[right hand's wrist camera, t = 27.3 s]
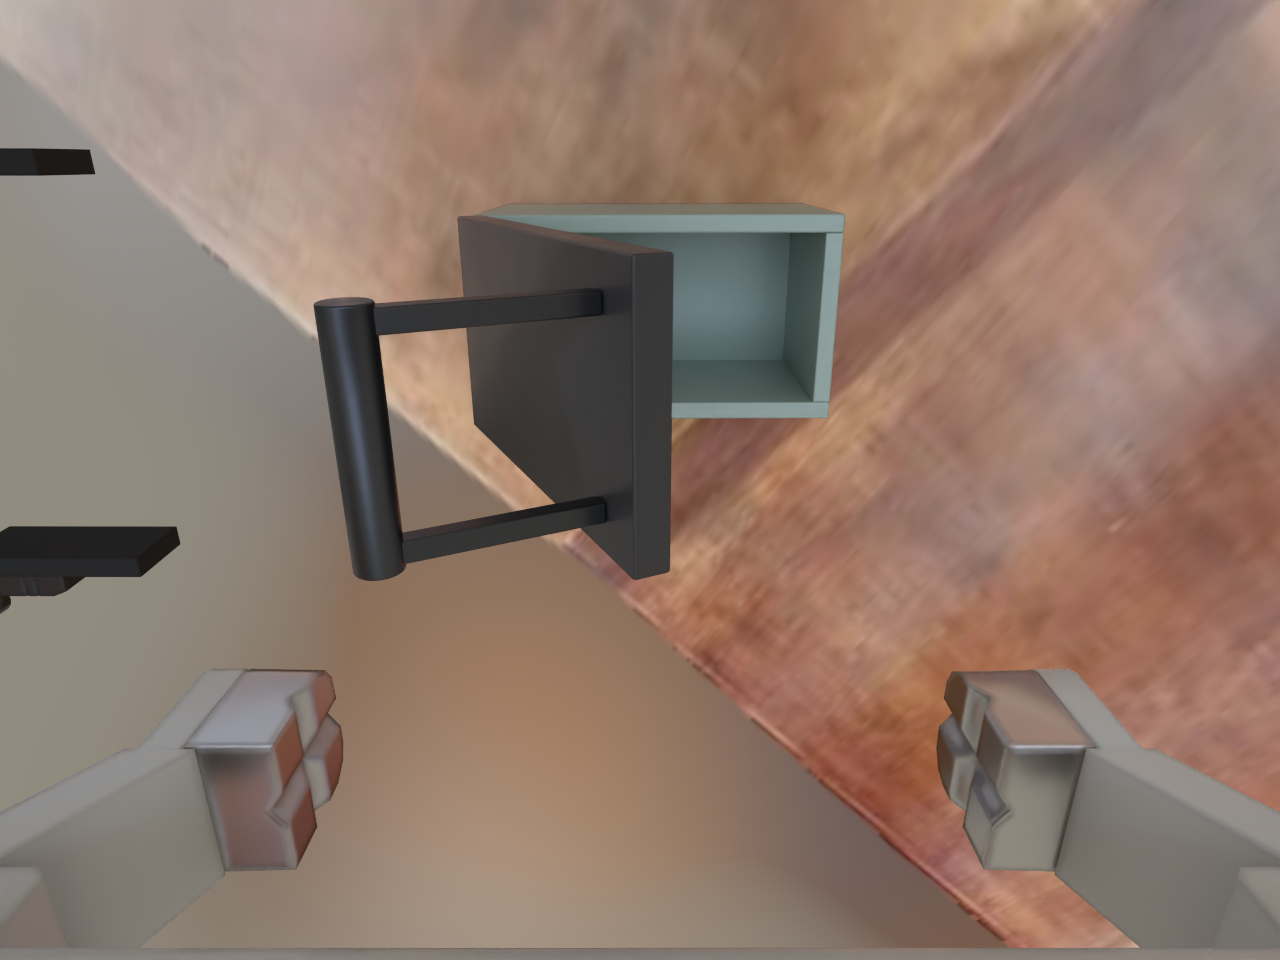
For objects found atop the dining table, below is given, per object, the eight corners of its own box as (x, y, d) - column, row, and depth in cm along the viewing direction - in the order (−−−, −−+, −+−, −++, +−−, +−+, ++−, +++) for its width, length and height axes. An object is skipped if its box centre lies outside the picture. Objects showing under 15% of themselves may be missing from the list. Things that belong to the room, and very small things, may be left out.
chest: (804, 203, 45) (846, 213, 36) (793, 370, 48) (828, 418, 39) (507, 203, 45) (473, 214, 36) (517, 370, 48) (489, 419, 39)
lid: (674, 251, 21) (318, 271, 17) (671, 572, 24) (372, 645, 21) (485, 215, 35) (266, 221, 32) (499, 421, 39) (303, 448, 35)
